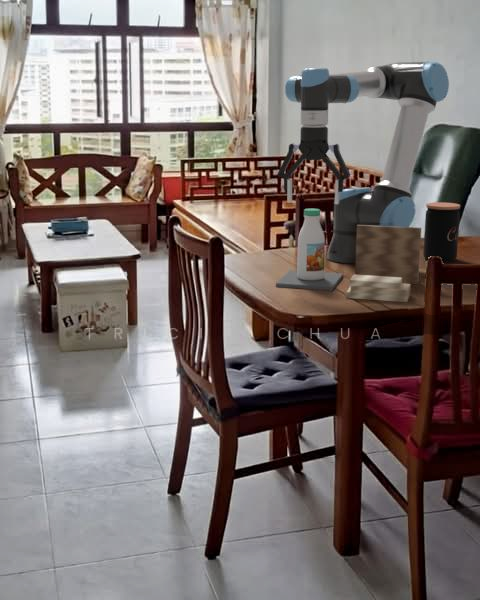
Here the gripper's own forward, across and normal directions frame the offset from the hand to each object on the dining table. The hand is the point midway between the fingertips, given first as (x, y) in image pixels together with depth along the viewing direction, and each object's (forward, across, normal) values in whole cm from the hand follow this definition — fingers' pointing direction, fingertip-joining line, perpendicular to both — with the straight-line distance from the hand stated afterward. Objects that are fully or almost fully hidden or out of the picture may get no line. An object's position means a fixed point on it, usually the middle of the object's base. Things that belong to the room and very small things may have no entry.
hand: (313, 203), depth 237 cm
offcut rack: (+23, +21, -3) cm, 31 cm away
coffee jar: (+24, +34, +43) cm, 60 cm away
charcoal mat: (+23, 0, -1) cm, 23 cm away
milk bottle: (+22, 0, -1) cm, 22 cm away
